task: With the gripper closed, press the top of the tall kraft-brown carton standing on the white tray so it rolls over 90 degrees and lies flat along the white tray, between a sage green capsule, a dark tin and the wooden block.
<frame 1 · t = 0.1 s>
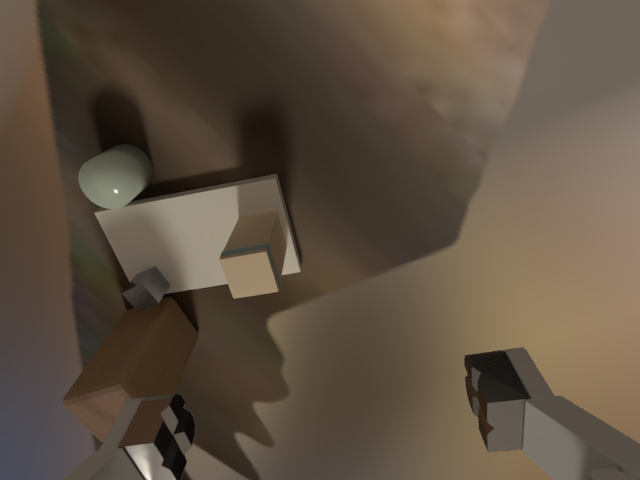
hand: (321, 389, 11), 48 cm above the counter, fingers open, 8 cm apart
sage green capsule: (129, 167, 58), on the counter
carton: (263, 232, 61), point 2 cm above the counter, touching white tray
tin: (153, 279, 65), point 2 cm above the counter, touching white tray
wooden block: (164, 320, 72), on the counter
white tray: (204, 237, 64), on the counter
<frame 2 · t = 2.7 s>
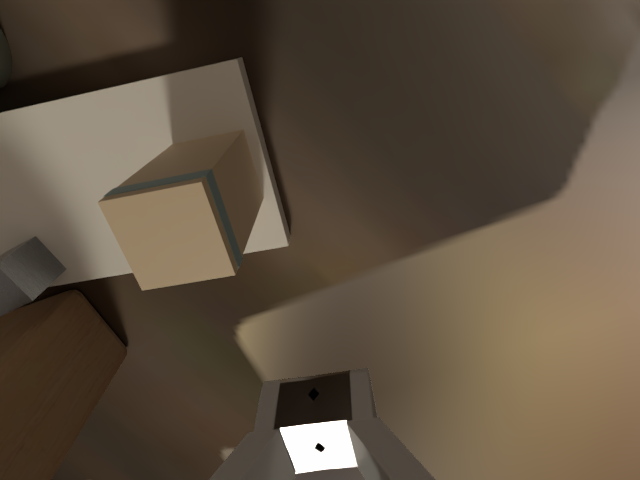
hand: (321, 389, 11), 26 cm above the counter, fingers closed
carton: (219, 171, 33), point 2 cm above the counter, touching white tray
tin: (35, 260, 38), point 2 cm above the counter, touching white tray
wooden block: (71, 329, 45), on the counter
white tray: (120, 185, 36), on the counter
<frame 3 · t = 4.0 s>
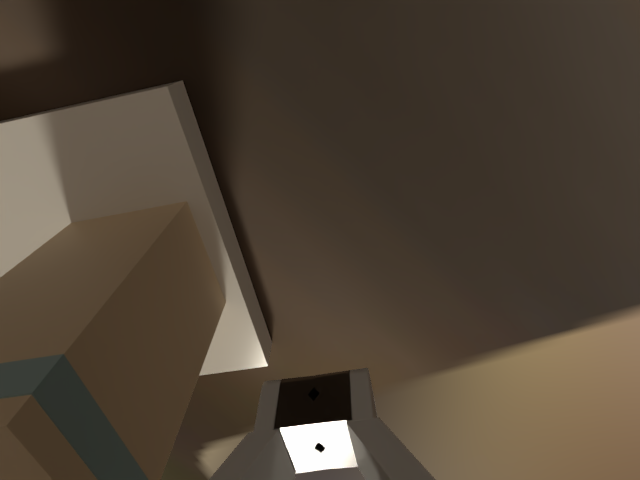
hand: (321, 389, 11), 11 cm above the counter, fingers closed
carton: (152, 264, 21), point 2 cm above the counter, touching white tray
white tray: (6, 273, 23), on the counter
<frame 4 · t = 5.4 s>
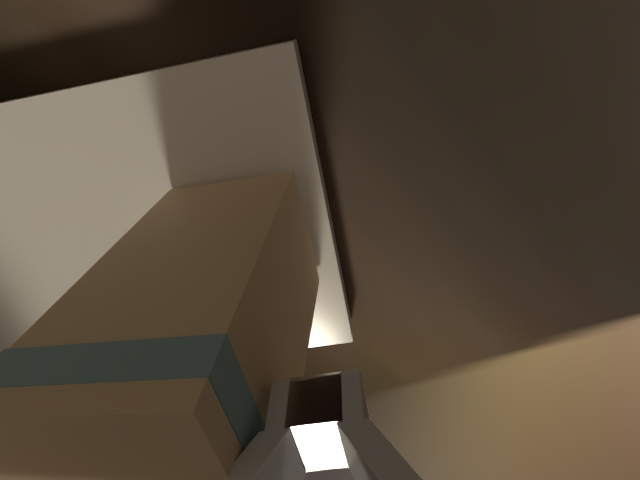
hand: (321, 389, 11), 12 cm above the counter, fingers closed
carton: (248, 236, 20), point 2 cm above the counter, tilted 5°, touching gripper, white tray
white tray: (86, 244, 23), on the counter
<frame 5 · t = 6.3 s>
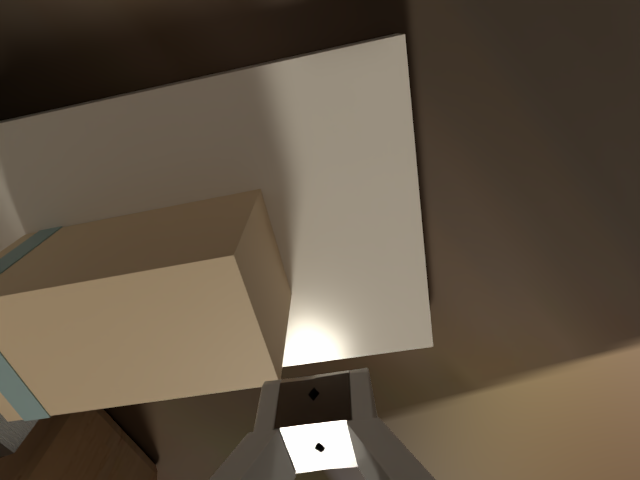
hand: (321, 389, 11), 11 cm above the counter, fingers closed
carton: (269, 279, 17), point 5 cm above the counter, tilted 90°, touching white tray
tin: (22, 363, 24), point 2 cm above the counter, touching white tray
wooden block: (77, 441, 31), on the counter
white tray: (160, 248, 22), on the counter
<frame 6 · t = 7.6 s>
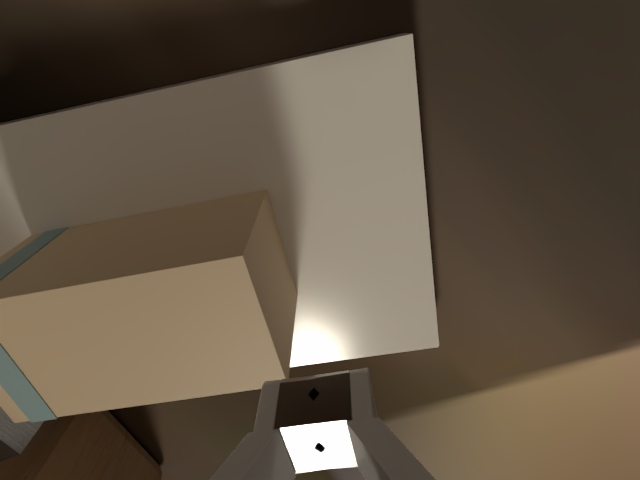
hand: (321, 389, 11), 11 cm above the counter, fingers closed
carton: (276, 279, 17), point 5 cm above the counter, tilted 90°, touching white tray
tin: (27, 364, 24), point 2 cm above the counter, touching white tray
wooden block: (81, 442, 31), on the counter
white tray: (165, 248, 22), on the counter
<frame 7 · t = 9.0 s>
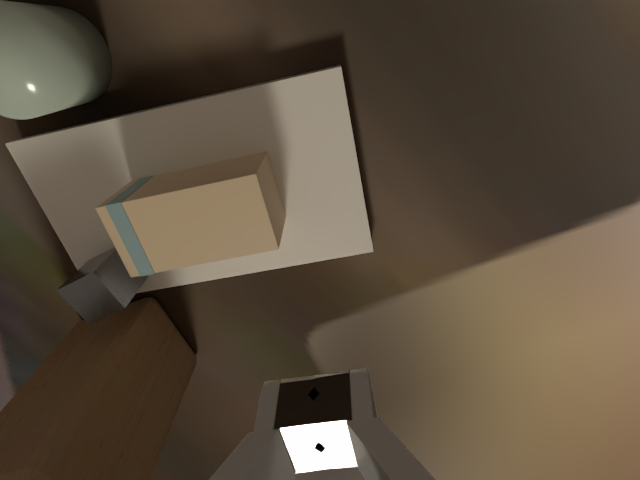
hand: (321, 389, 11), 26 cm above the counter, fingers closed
sage green capsule: (67, 57, 32), on the counter
carton: (272, 198, 31), point 5 cm above the counter, tilted 90°, touching white tray
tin: (118, 268, 38), point 2 cm above the counter, touching white tray
wooden block: (141, 337, 45), on the counter
white tray: (206, 192, 36), on the counter
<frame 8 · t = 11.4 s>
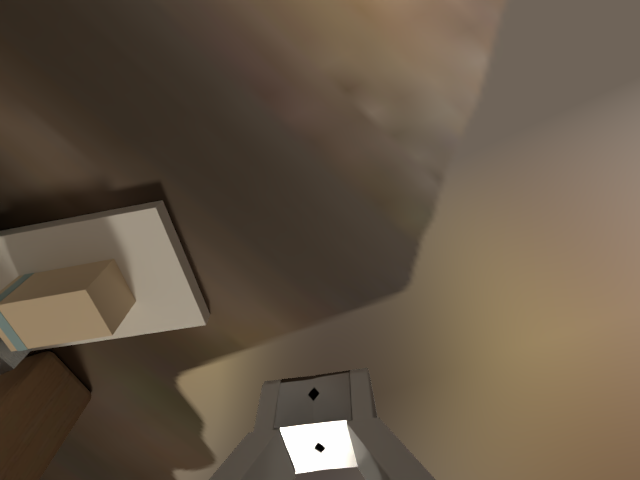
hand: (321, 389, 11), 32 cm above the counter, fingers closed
carton: (113, 295, 44), point 5 cm above the counter, tilted 90°, touching white tray
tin: (17, 333, 50), point 2 cm above the counter, touching white tray
wooden block: (47, 378, 57), on the counter
white tray: (80, 280, 49), on the counter
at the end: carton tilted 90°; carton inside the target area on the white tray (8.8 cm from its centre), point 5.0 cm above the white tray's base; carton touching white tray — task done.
